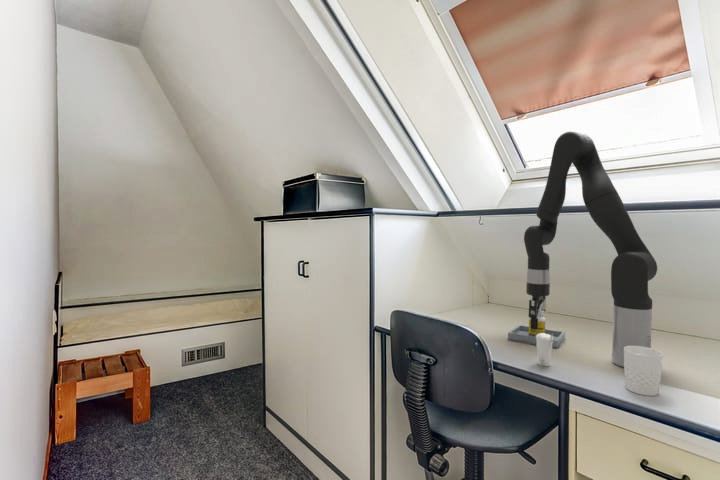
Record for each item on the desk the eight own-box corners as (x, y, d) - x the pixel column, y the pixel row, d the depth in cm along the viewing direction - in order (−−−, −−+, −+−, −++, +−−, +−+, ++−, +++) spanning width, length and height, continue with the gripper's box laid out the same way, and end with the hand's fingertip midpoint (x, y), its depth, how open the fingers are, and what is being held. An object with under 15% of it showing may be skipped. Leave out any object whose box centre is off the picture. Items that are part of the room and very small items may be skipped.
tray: (565, 338, 140) (565, 332, 140) (557, 348, 128) (557, 341, 128) (518, 331, 149) (518, 324, 149) (507, 339, 138) (508, 332, 138)
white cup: (666, 399, 91) (668, 357, 91) (627, 394, 94) (628, 353, 94) (655, 386, 98) (656, 347, 98) (618, 381, 101) (620, 344, 101)
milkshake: (544, 369, 110) (545, 334, 110) (531, 362, 115) (532, 329, 115) (558, 367, 111) (559, 333, 111) (544, 361, 117) (545, 328, 116)
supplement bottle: (527, 338, 138) (528, 311, 137) (529, 334, 143) (529, 308, 142) (544, 340, 135) (545, 312, 135) (545, 336, 140) (546, 309, 140)
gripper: (545, 285, 130) (543, 332, 131) (553, 280, 141) (552, 324, 142) (521, 282, 135) (520, 329, 135) (531, 278, 146) (530, 321, 147)
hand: (536, 326), depth 139 cm, fingers open, 8 cm apart
